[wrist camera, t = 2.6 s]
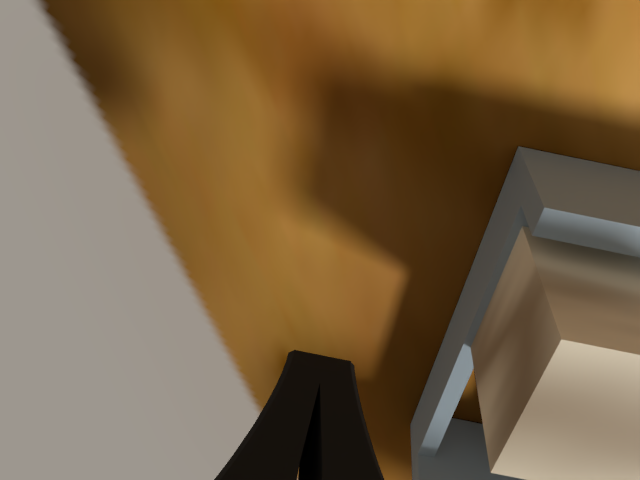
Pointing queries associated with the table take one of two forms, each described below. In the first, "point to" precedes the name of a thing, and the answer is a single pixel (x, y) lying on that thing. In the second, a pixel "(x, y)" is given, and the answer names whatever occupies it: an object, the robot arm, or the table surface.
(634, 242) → the trap box
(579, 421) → the beech block
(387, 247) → the table surface
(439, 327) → the table surface
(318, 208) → the table surface
